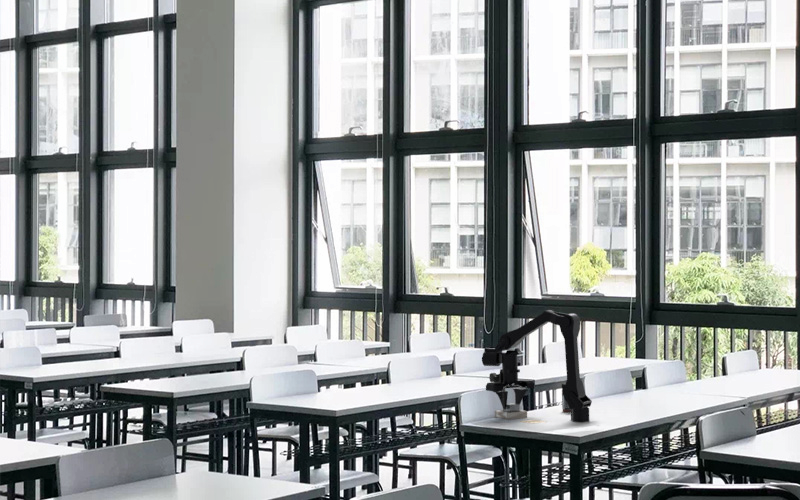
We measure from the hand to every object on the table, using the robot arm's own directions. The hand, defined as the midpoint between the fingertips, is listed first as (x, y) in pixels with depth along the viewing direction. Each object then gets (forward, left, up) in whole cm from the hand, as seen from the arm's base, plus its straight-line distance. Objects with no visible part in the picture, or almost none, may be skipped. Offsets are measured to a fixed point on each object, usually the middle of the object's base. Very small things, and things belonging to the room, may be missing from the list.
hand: (510, 408), depth 394 cm
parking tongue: (-15, +1, -4) cm, 16 cm away
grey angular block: (0, 0, -3) cm, 3 cm away
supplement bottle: (+6, -33, -5) cm, 34 cm away
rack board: (-2, 0, -4) cm, 5 cm away
